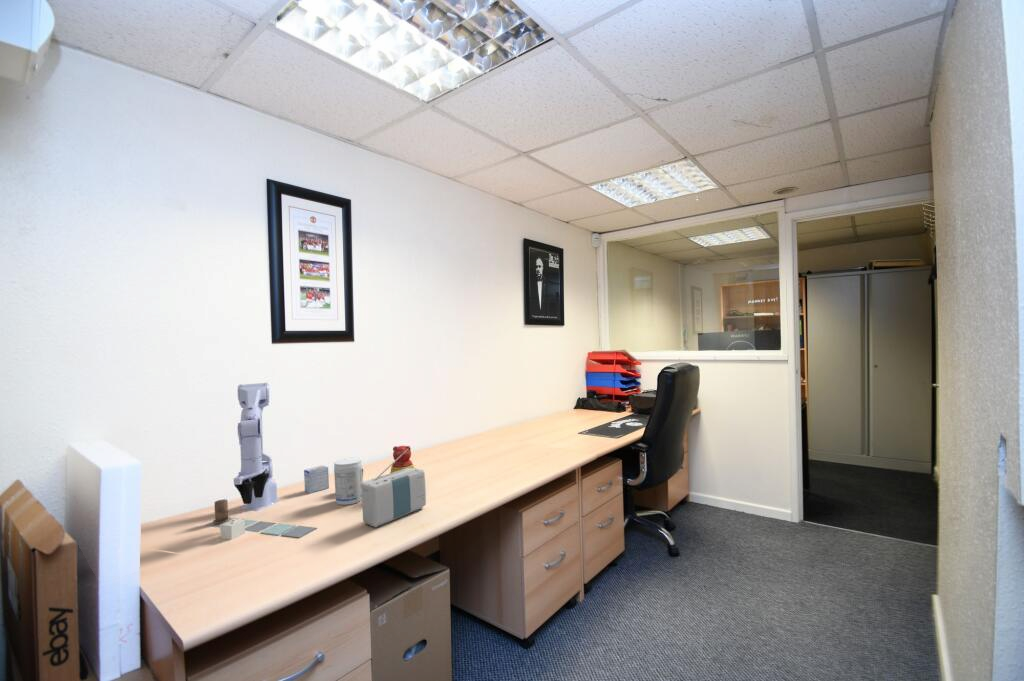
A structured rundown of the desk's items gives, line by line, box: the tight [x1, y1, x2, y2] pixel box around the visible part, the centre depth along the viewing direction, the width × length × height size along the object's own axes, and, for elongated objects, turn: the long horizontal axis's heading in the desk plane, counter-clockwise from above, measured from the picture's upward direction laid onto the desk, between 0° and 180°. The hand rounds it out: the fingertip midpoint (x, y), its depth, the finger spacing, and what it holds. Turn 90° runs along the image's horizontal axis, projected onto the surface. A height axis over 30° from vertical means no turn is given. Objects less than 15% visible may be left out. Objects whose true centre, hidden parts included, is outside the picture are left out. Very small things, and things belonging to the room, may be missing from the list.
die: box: [219, 518, 246, 540], centre depth 139 cm, size 4×4×4 cm
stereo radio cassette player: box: [361, 449, 427, 528], centre depth 150 cm, size 21×8×20 cm, turn 143°
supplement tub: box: [333, 456, 364, 506], centre depth 167 cm, size 10×10×15 cm
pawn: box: [212, 498, 231, 525], centre depth 151 cm, size 5×5×7 cm
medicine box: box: [303, 464, 330, 494], centre depth 181 cm, size 8×4×9 cm, turn 141°
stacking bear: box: [389, 445, 415, 474], centre depth 173 cm, size 11×10×18 cm
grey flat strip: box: [204, 517, 318, 539], centre depth 145 cm, size 7×39×1 cm, turn 71°
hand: (253, 500), depth 146 cm, fingers open, 5 cm apart
